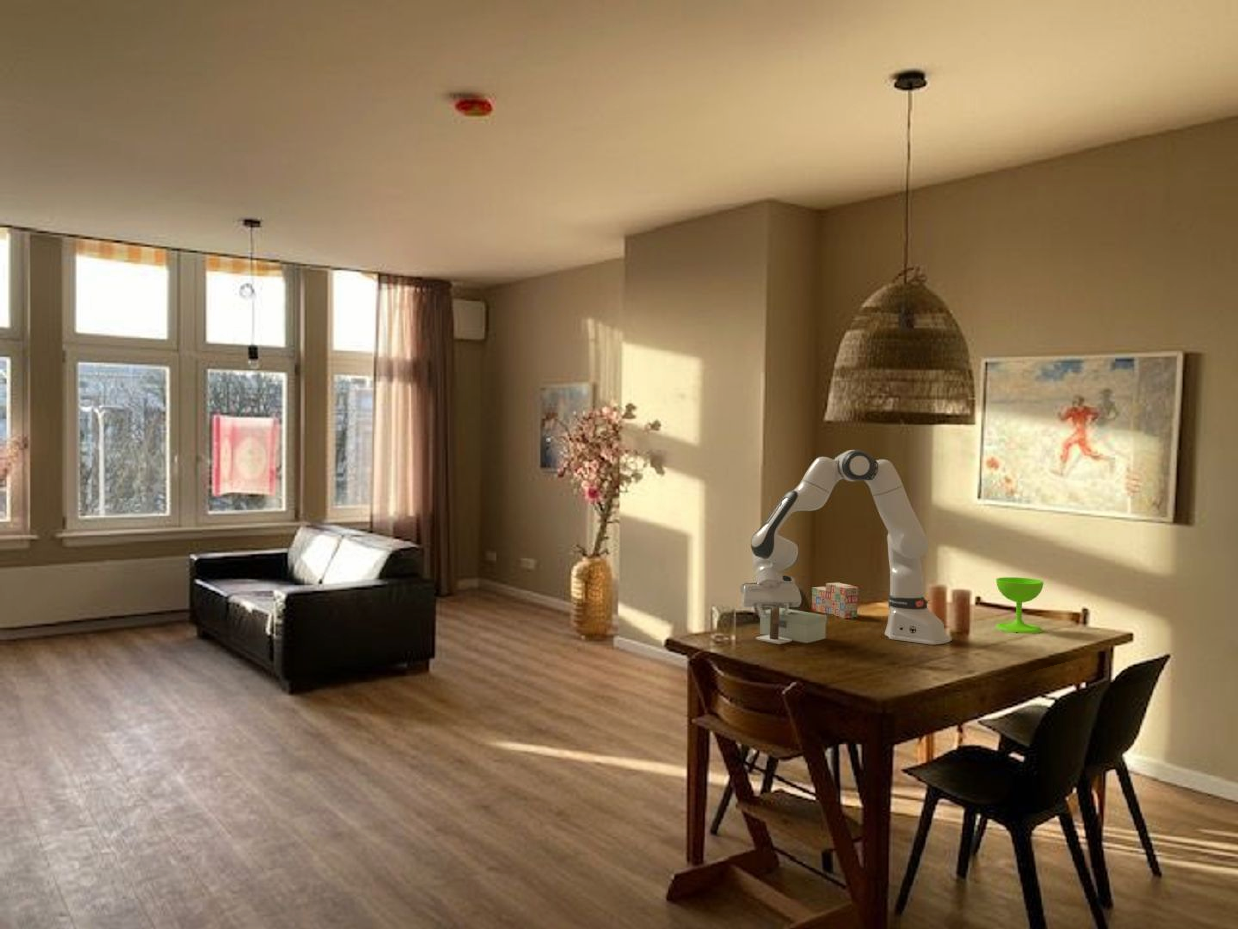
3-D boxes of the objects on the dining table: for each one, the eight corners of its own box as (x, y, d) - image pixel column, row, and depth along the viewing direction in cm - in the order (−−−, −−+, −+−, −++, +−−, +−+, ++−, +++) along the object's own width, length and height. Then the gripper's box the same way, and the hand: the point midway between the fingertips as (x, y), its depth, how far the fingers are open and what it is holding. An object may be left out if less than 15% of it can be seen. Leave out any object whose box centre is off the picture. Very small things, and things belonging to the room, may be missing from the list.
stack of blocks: (811, 610, 372) (811, 580, 372) (823, 609, 375) (824, 579, 374) (844, 619, 353) (845, 587, 352) (857, 618, 355) (858, 586, 355)
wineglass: (1050, 634, 328) (1051, 584, 327) (1005, 633, 328) (1006, 583, 327) (1031, 625, 344) (1032, 577, 343) (988, 624, 344) (989, 577, 343)
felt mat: (791, 641, 312) (791, 639, 312) (779, 644, 307) (779, 642, 307) (768, 636, 319) (768, 634, 319) (755, 639, 315) (755, 637, 315)
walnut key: (780, 638, 313) (781, 606, 313) (774, 639, 311) (775, 607, 311) (773, 637, 315) (774, 605, 315) (767, 638, 313) (768, 606, 313)
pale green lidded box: (826, 638, 317) (826, 615, 317) (806, 643, 309) (806, 619, 309) (778, 629, 332) (779, 607, 332) (758, 633, 324) (758, 611, 324)
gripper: (740, 577, 319) (745, 610, 310) (798, 577, 320) (805, 610, 311) (738, 588, 324) (743, 621, 314) (795, 588, 325) (801, 621, 315)
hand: (774, 615), depth 312 cm, fingers open, 6 cm apart
